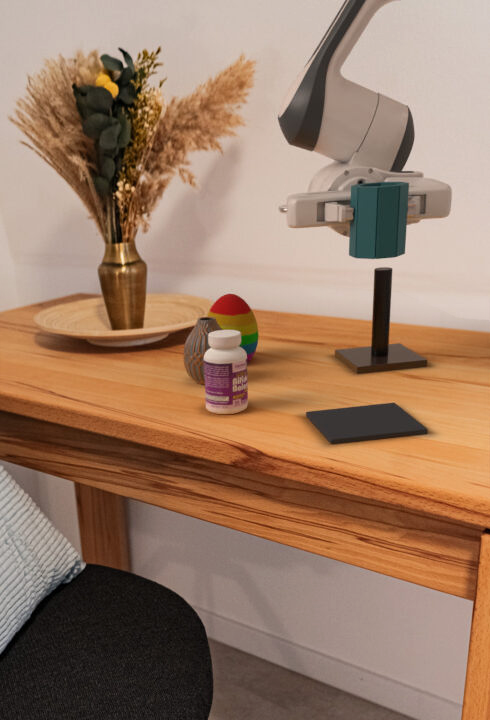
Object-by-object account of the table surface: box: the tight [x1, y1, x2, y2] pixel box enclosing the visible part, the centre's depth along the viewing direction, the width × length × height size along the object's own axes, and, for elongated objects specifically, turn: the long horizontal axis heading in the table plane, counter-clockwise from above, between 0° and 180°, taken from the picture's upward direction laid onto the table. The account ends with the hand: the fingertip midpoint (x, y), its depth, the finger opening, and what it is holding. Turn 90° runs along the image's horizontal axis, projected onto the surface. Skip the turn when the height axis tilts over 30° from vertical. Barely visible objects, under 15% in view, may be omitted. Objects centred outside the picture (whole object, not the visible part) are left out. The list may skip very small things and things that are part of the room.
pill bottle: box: [204, 330, 249, 415], centre depth 104 cm, size 5×5×10 cm
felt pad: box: [305, 402, 429, 445], centre depth 97 cm, size 11×10×1 cm
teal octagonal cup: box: [348, 182, 409, 260], centre depth 100 cm, size 6×6×8 cm
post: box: [334, 266, 428, 375], centre depth 118 cm, size 10×10×13 cm
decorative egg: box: [206, 293, 259, 363], centre depth 124 cm, size 8×8×10 cm
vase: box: [182, 316, 222, 385], centre depth 116 cm, size 7×7×9 cm
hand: (380, 212), depth 99 cm, fingers closed on teal octagonal cup, 6 cm apart
